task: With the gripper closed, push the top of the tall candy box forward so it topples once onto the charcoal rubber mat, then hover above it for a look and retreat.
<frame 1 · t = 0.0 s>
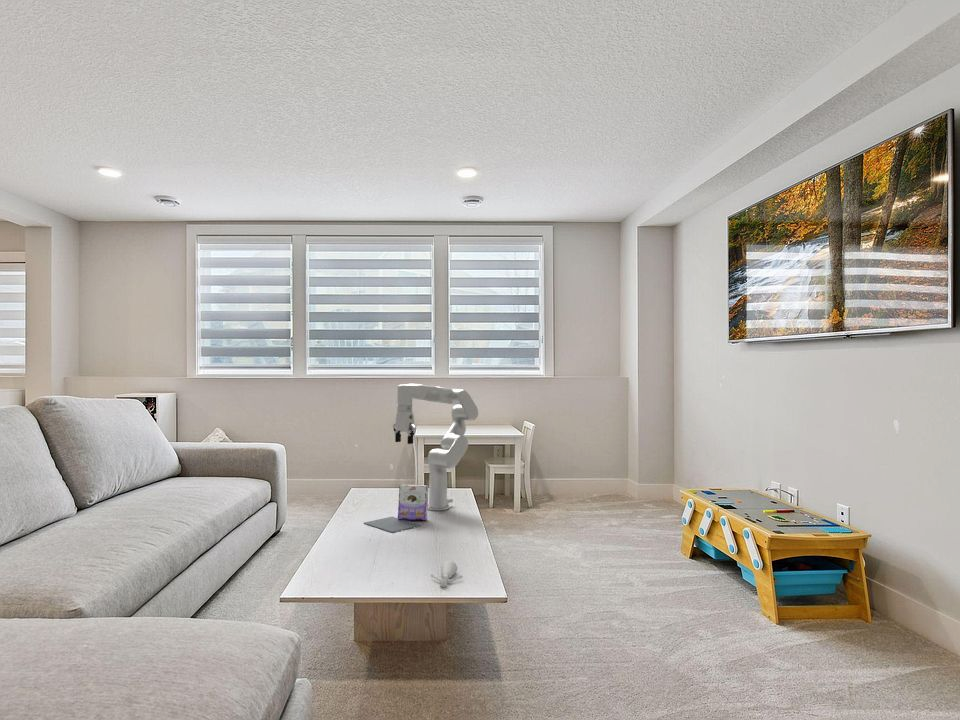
hand: (404, 442, 297), 37 cm above the table, tool pointing down, fingers open, 9 cm apart
candy box: (412, 519, 288), on the table, touching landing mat
grey legged figure: (446, 580, 209), on the table
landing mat: (392, 524, 279), on the table
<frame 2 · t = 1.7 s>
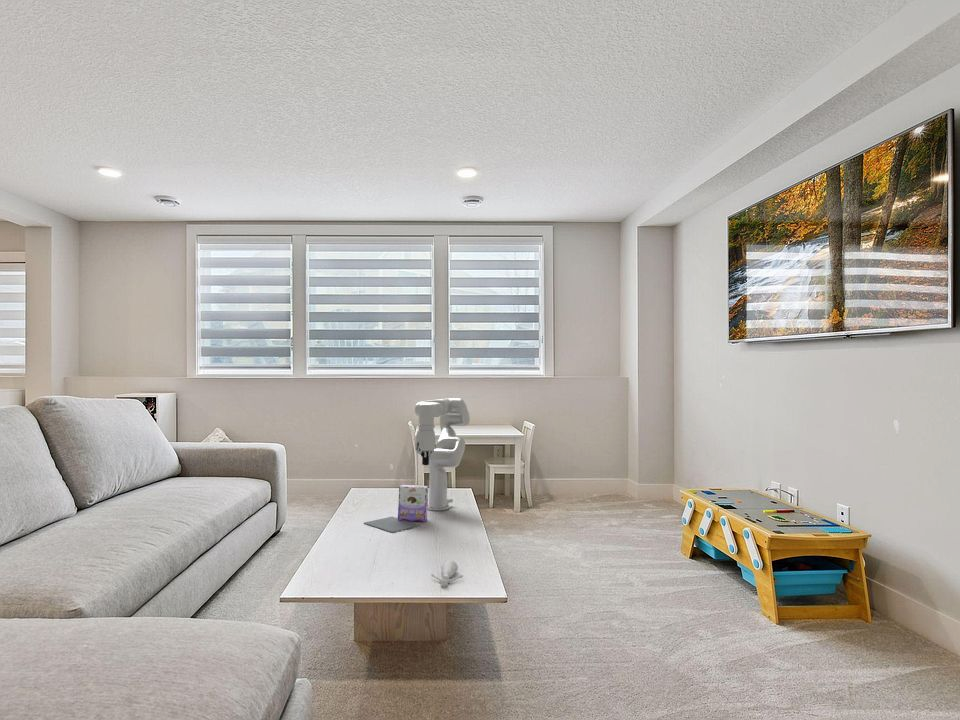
hand: (425, 464, 294), 26 cm above the table, tool pointing down, fingers closed
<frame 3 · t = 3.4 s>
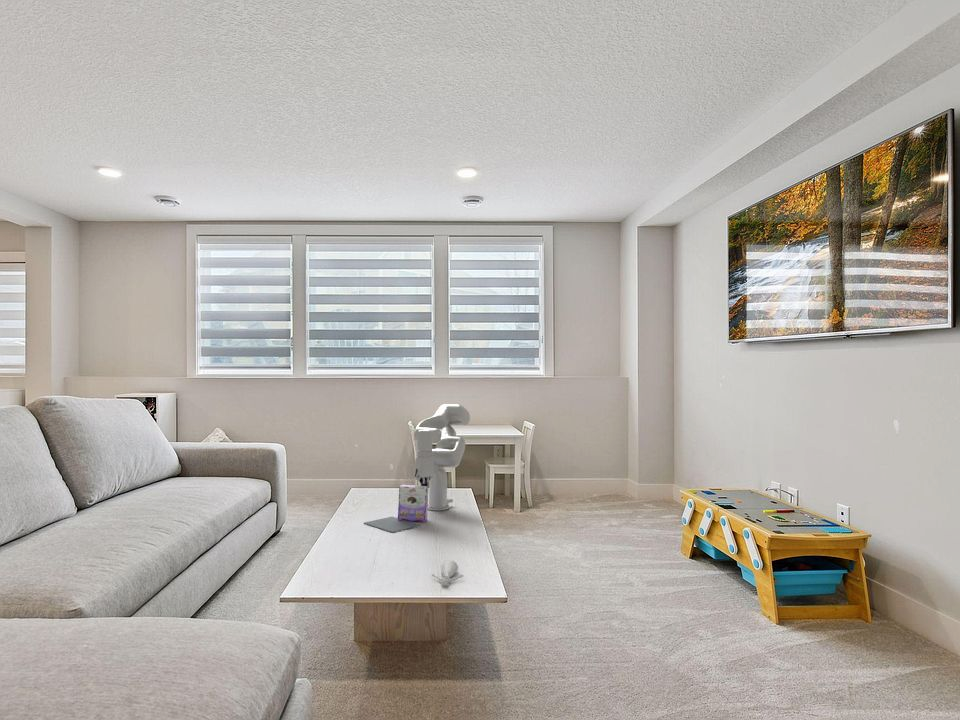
hand: (424, 491, 293), 13 cm above the table, tool pointing down, fingers closed
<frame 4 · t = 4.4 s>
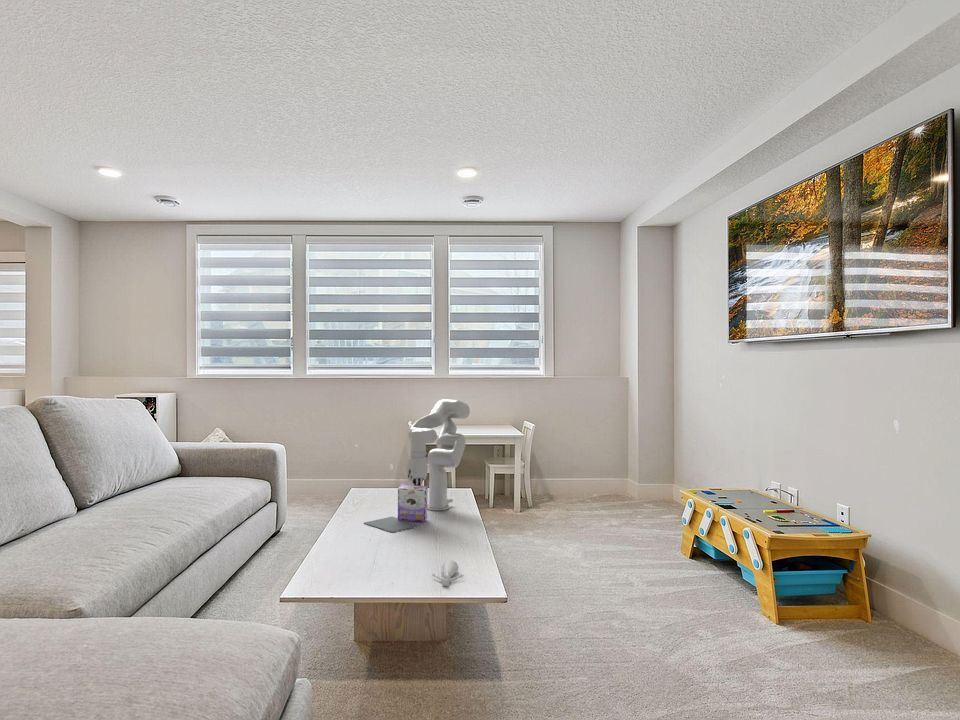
hand: (417, 492, 290), 13 cm above the table, tool pointing down, fingers closed
candy box: (412, 518, 288), point 1 cm above the table, touching gripper, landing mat
everything else where it was.
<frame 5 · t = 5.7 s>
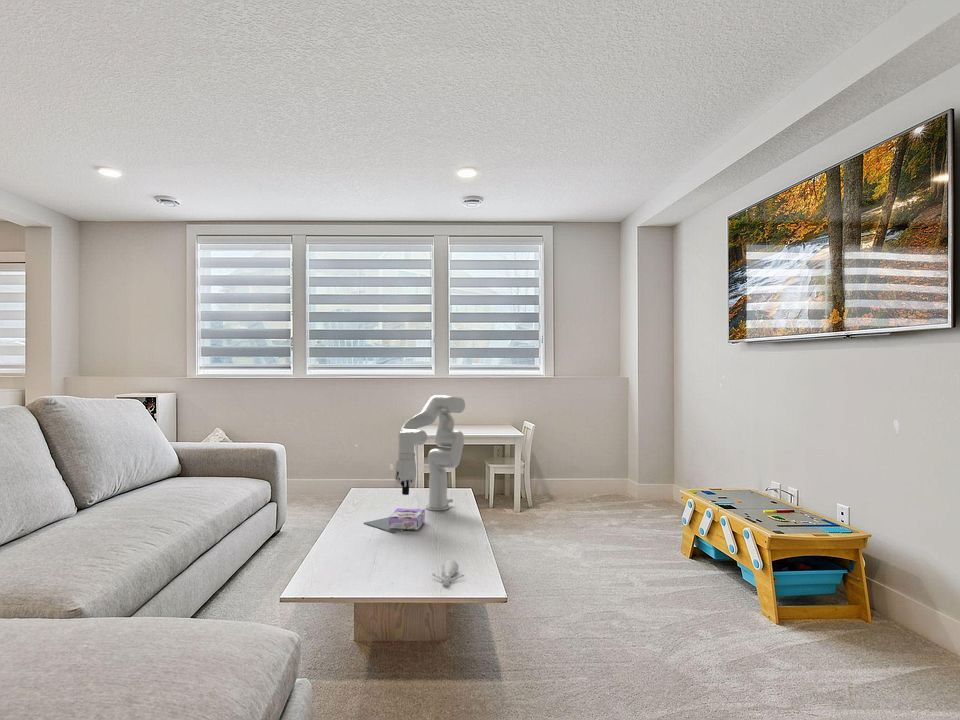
hand: (405, 494, 285), 13 cm above the table, tool pointing down, fingers closed
candy box: (411, 514, 286), point 3 cm above the table, touching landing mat
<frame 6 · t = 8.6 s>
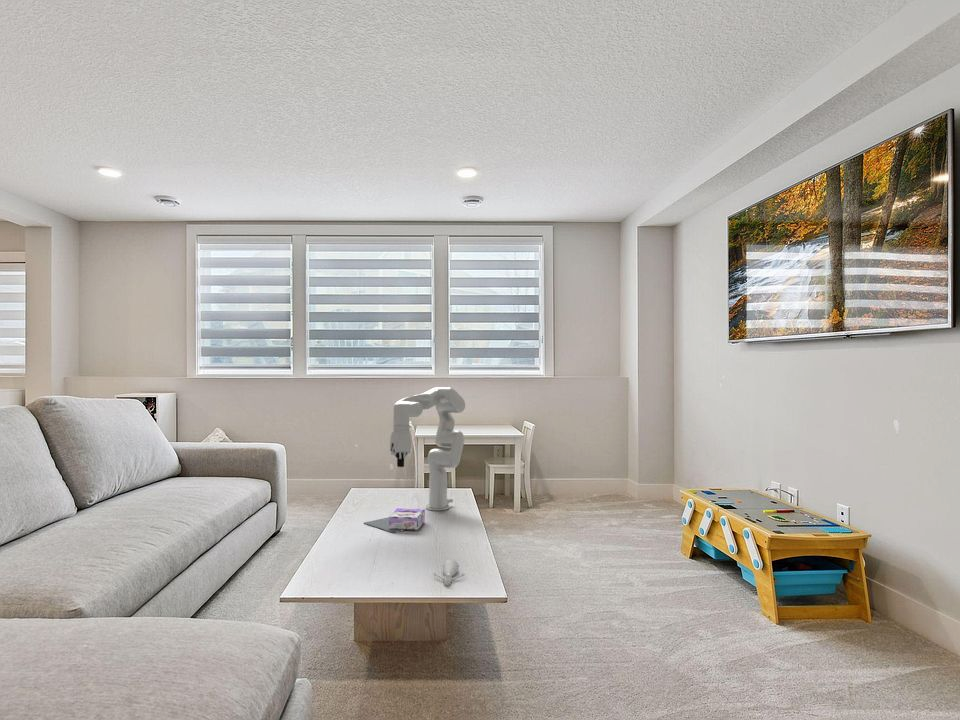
hand: (400, 466, 283), 27 cm above the table, tool pointing down, fingers closed
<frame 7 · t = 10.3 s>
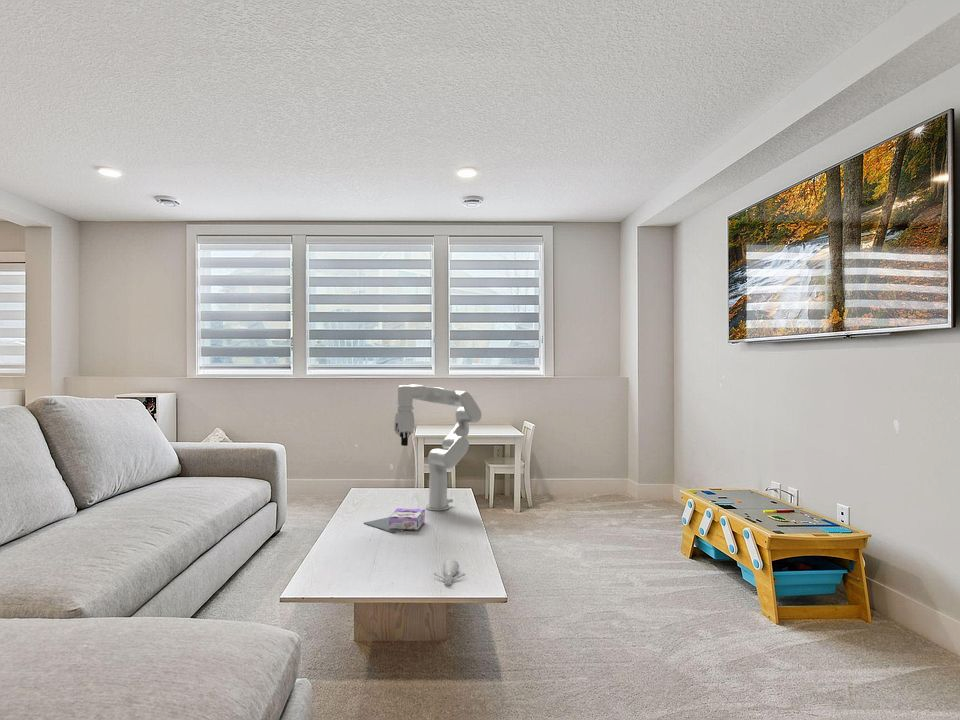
hand: (404, 445, 300), 35 cm above the table, tool pointing down, fingers closed
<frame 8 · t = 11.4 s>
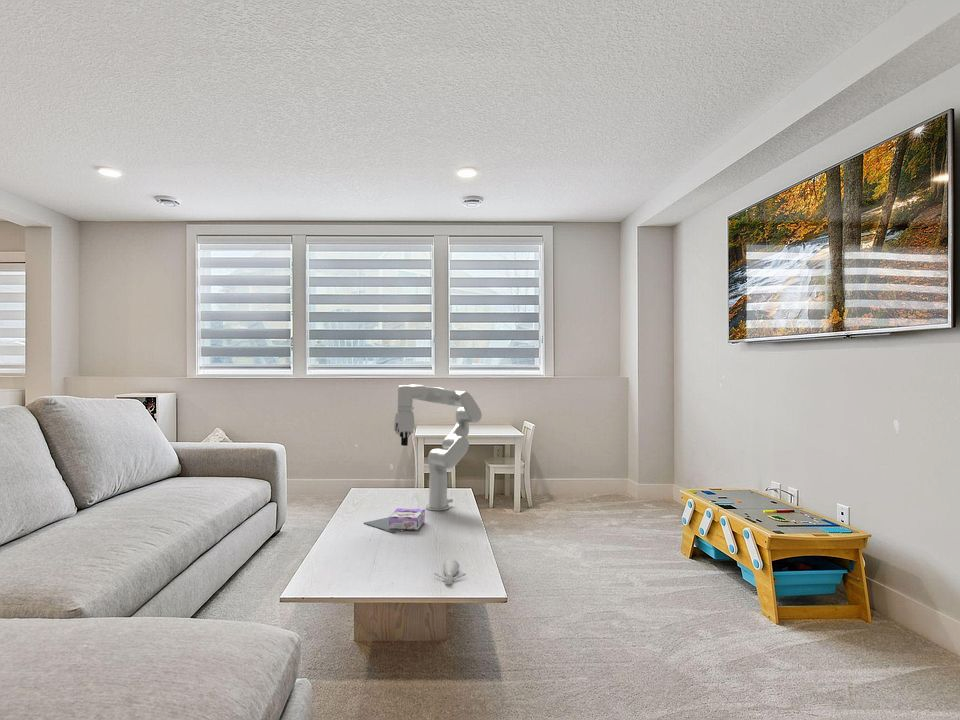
hand: (404, 445, 300), 35 cm above the table, tool pointing down, fingers closed
at the end: candy box tilted 90°; candy box inside the target area (5.1 cm from its centre), point 3.4 cm above the table; candy box touching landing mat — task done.
